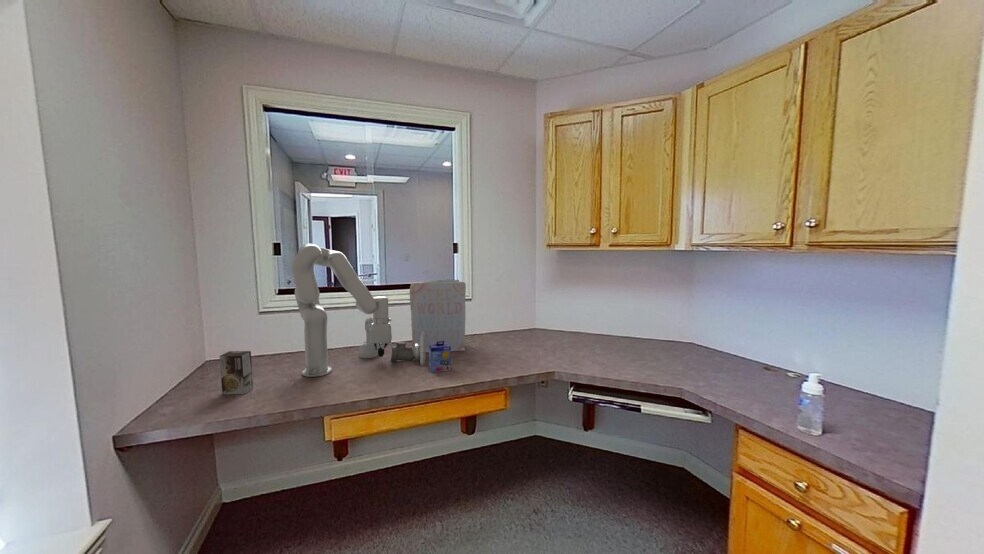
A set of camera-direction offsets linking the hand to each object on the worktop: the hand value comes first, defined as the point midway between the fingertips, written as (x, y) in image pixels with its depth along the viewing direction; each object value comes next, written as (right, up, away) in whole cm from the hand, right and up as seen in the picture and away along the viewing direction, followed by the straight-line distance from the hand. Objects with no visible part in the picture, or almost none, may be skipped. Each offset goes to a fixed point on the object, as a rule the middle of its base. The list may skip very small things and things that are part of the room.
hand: (381, 356), depth 198 cm
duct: (+19, -3, +2) cm, 20 cm away
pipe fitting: (+11, -3, +1) cm, 11 cm away
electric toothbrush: (-10, -2, +12) cm, 15 cm away
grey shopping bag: (+25, -1, +27) cm, 37 cm away
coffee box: (-47, -7, -40) cm, 62 cm away
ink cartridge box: (+32, -5, -12) cm, 34 cm away
